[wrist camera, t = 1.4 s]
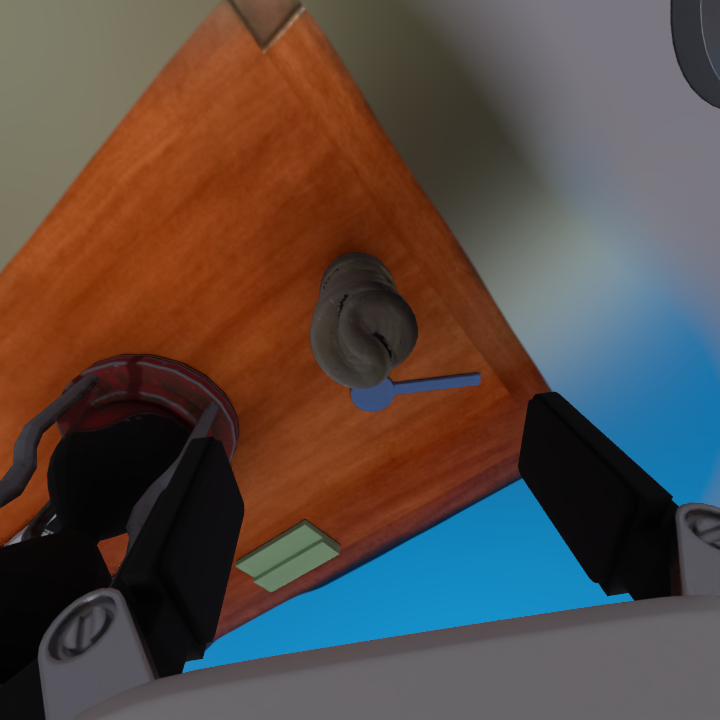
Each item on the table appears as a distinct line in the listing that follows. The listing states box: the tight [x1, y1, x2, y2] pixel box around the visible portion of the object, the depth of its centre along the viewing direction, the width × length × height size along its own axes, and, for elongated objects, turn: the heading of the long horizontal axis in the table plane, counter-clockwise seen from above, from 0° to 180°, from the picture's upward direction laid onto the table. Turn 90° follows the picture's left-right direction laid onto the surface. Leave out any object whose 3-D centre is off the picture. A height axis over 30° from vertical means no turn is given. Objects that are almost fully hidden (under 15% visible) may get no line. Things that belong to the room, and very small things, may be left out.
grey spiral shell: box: [310, 252, 418, 389], centre depth 23 cm, size 6×6×15 cm
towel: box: [236, 520, 340, 592], centre depth 46 cm, size 12×7×1 cm, turn 127°
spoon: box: [351, 373, 481, 412], centre depth 35 cm, size 13×4×1 cm, turn 95°
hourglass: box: [0, 355, 239, 686], centre depth 24 cm, size 16×16×25 cm
